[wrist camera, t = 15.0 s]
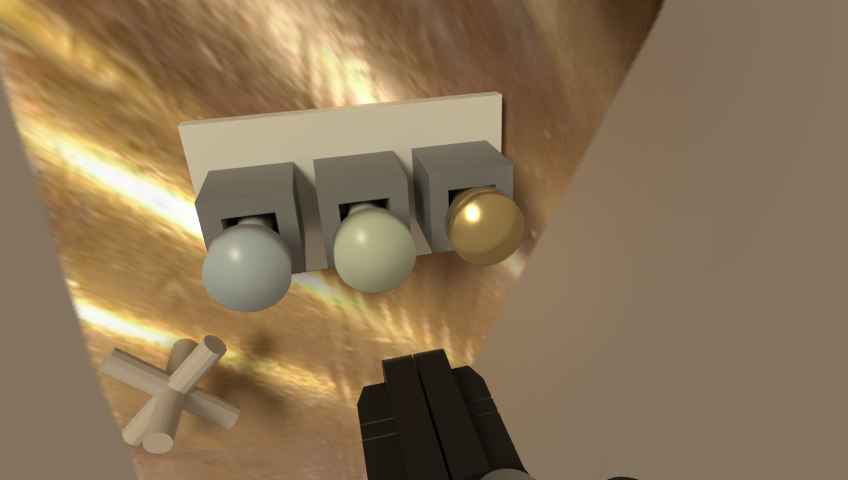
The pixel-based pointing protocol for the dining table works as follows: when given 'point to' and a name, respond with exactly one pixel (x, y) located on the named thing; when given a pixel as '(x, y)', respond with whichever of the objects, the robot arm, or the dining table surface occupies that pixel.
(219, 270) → the slate plug
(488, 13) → the dining table surface
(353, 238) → the sage plug
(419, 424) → the robot arm
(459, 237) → the brass plug
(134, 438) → the pipe connector
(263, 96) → the dining table surface
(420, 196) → the socket board
